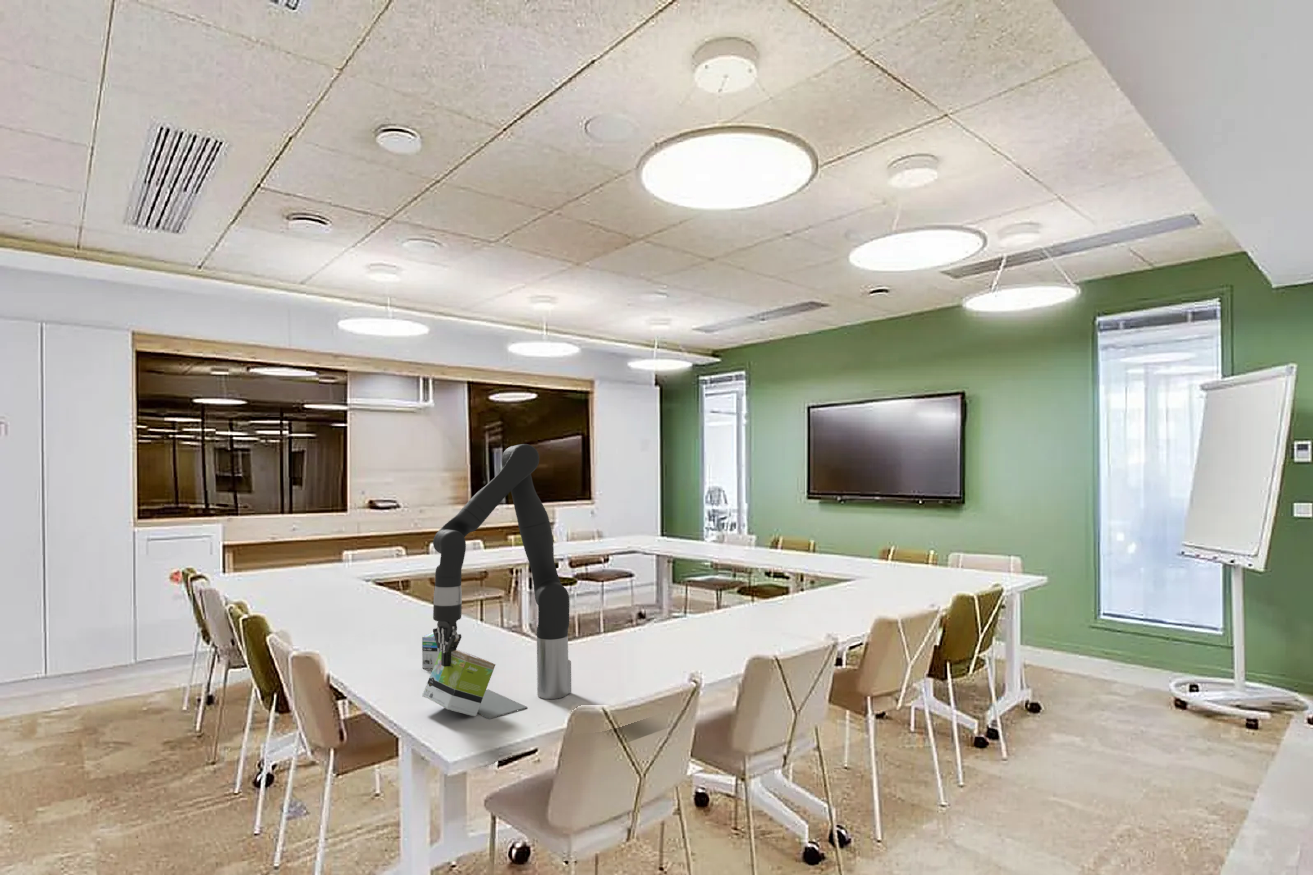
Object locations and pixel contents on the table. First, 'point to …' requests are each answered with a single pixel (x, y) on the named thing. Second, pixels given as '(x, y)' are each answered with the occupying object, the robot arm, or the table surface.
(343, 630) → the table surface
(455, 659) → the tea box
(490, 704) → the mat
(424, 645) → the light bulb box
